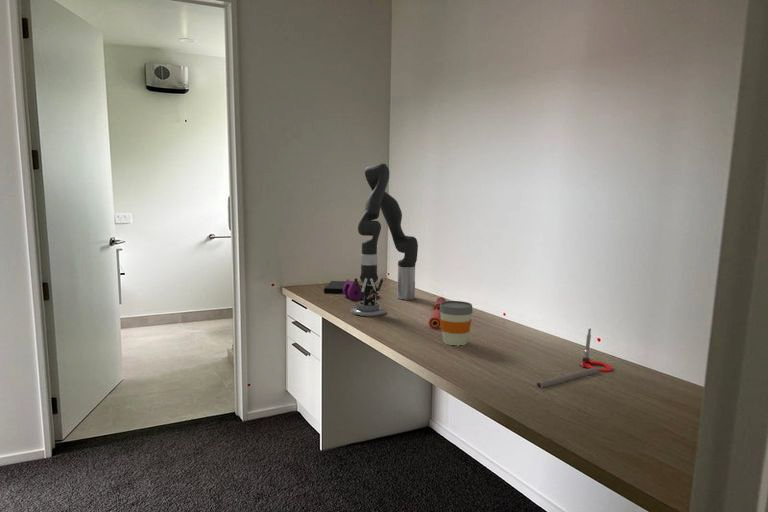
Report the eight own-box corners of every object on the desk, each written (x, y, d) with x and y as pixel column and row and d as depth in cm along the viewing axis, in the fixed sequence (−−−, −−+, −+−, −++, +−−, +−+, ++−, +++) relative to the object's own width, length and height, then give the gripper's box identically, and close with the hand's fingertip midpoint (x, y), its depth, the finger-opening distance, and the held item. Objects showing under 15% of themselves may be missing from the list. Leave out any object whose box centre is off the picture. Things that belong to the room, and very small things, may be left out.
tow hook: (615, 369, 174) (587, 361, 180) (620, 332, 172) (592, 325, 178) (606, 375, 168) (578, 367, 174) (611, 337, 166) (582, 330, 172)
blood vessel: (440, 329, 218) (441, 318, 217) (428, 328, 219) (429, 317, 218) (446, 307, 259) (446, 297, 258) (436, 306, 260) (436, 296, 259)
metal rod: (536, 387, 156) (536, 381, 156) (594, 372, 170) (594, 366, 170) (541, 389, 155) (541, 383, 155) (599, 374, 169) (599, 368, 169)
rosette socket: (385, 309, 251) (385, 299, 251) (384, 317, 236) (384, 307, 235) (352, 308, 252) (352, 299, 251) (349, 316, 236) (349, 306, 236)
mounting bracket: (367, 305, 285) (340, 293, 277) (374, 291, 285) (346, 279, 277) (375, 309, 276) (346, 297, 268) (381, 294, 277) (353, 282, 269)
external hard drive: (323, 293, 287) (323, 288, 286) (331, 285, 309) (331, 280, 309) (349, 294, 286) (349, 289, 285) (354, 286, 308) (354, 281, 308)
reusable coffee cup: (460, 336, 207) (462, 299, 205) (477, 345, 196) (479, 306, 194) (432, 339, 203) (433, 301, 201) (447, 348, 191) (449, 309, 189)
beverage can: (377, 309, 244) (379, 284, 242) (369, 311, 240) (371, 285, 238) (368, 306, 248) (370, 282, 246) (360, 308, 244) (362, 283, 242)
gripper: (384, 262, 244) (384, 298, 247) (354, 261, 245) (354, 297, 247) (384, 265, 237) (383, 301, 239) (353, 264, 237) (352, 301, 240)
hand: (368, 299), depth 243 cm, fingers closed on beverage can, 4 cm apart
